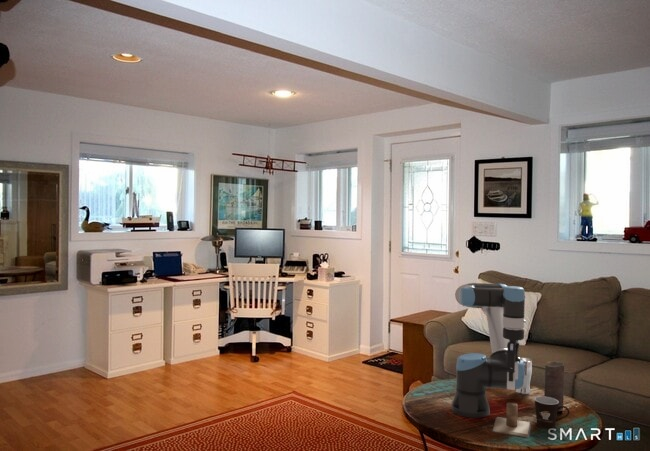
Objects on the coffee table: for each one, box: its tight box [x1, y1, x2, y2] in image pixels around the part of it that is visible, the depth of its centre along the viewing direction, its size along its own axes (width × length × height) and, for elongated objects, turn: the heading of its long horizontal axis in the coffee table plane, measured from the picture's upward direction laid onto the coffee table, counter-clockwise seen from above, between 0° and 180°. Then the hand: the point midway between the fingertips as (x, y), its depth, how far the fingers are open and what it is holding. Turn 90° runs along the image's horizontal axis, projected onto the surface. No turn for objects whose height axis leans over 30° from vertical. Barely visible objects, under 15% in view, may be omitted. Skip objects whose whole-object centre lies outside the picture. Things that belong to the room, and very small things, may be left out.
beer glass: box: [515, 357, 533, 395], centre depth 240 cm, size 7×7×15 cm
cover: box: [492, 401, 531, 438], centre depth 199 cm, size 12×12×9 cm
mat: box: [491, 419, 532, 439], centre depth 199 cm, size 13×13×1 cm
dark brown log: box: [544, 361, 565, 412], centre depth 218 cm, size 8×7×20 cm
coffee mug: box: [533, 395, 570, 429], centre depth 201 cm, size 12×9×10 cm
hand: (512, 384), depth 199 cm, fingers open, 13 cm apart
